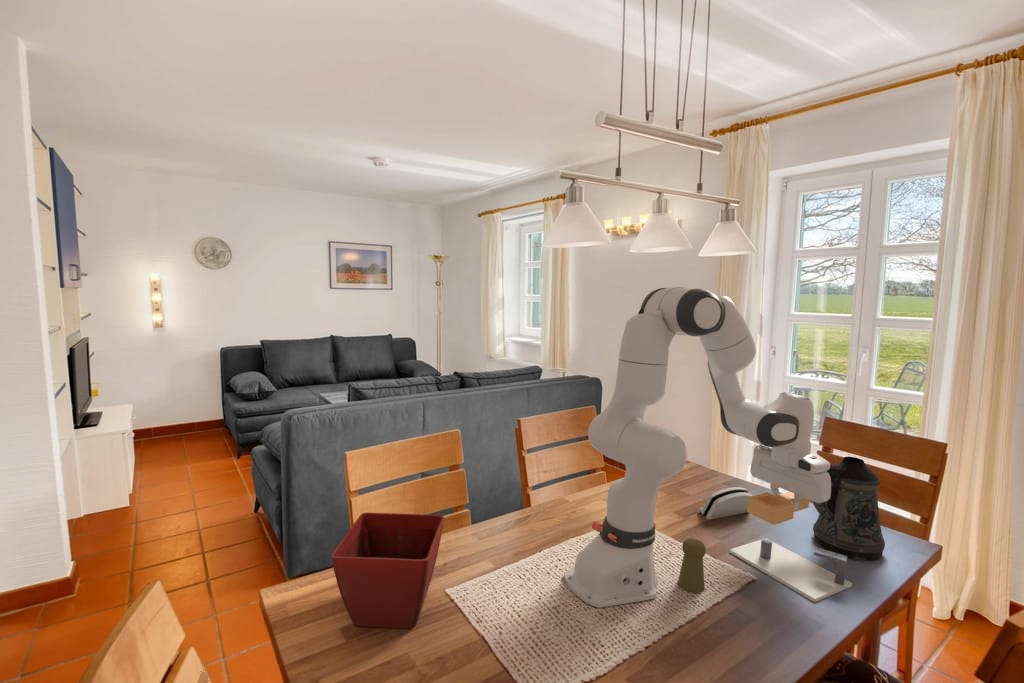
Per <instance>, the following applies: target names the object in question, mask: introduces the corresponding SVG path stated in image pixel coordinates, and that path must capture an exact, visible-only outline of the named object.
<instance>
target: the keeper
mask: <svg viewBox="0 0 1024 683" xmlns="http://www.w3.org/2000/svg"><path fill="white" fill-rule="evenodd" d="M813 556H816V557H819V558H823V559H826V560H829V561H833V562H835V563H836V566H835V573H834V574H835V583H837V584H840V585H843V586H844V581H845V580H846V570H847V562H848V558H847V556H845V555H841V554H838V553H835V552H831V551H828V550H826V549H824V548H822V547H817V546H815V547H814V550H813Z"/></svg>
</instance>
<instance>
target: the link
mask: <svg viewBox="0 0 1024 683" xmlns="http://www.w3.org/2000/svg"><path fill="white" fill-rule="evenodd" d="M795 499H796V498H795V497H794V493H792V492H790V491H787V492H784V493H780V495H776V496H775V495H773V493H770V492H764V493H760V494H757V495H752V497H748V506H747V512H746V513H749V514H751V515H753V516H754V517H757V518H758V519H761V520H762V521H764V522H767V523H769V524H770V525H773V526H775V525H778V524H782V523H784V522H787V521H790V520H793V519H794V513H795V512H799V511H803V510H805V509H808V508H809V507H810V500H809V499H807V498H803V499H802V501H801V502H800V503H799V507H798V509H797V510H794V504H793V503H791V502H790V501H793V500H795Z"/></svg>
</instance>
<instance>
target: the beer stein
mask: <svg viewBox="0 0 1024 683" xmlns="http://www.w3.org/2000/svg"><path fill="white" fill-rule="evenodd" d="M827 472H828V473H829V475H830V478H831V496H830V499H829V500H828V501H826V502H823V503H817V502H814V501H812V504H813V506H814V508H815V509H816V511H817V513H818V517H817V519H816V521H815V523H813V527H812V529H813V530H812V531H813V536H814V542H816V543H817V545H819V546H820V548H821V549H825V550H828V551H831V552H835V553H838V554H841V555H845V556H847V559H849V560H853V561H856V562H857V561H860V562H873V561H874V562H875V561H878V560H880V559H881V558H882V557H883V553H884V550H885V547H886V541H885V539H884V536H883V533H882V532H883V531H882V528H881V521H880V514H879V513H880V512H879V500H878V489H879V488H880V487H881V486H880V485H881V483H882V481H881V478H880V477H879V476H878V475H877V474H876V473H875V472H874V471H873V470H871V468H870V467H868V466H867V465H866V462H865V461H864V460H863V459H861V458H858V457H856V456H845V457H843V458H842V460H840V461H839V462H837V463H835V464H833V465H830V469H829V470H827Z"/></svg>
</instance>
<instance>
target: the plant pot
mask: <svg viewBox="0 0 1024 683" xmlns="http://www.w3.org/2000/svg"><path fill="white" fill-rule="evenodd" d="M444 518H445V517H444V516H443V515H439V514H424V513H423V514H419V513H418V514H417V513H415V514H414V513H395V512H394V513H393V512H391V513H390V512H389V513H388V512H386V513H385V512H363V513H361V514H360V515H359V516H358V518H357V519H356V521H355V522H354V523H353V525H352V526H351V528H349V530H348V531H347V533H346V534H345V536H344V537H343V539H342V540H341V541H340V542H339V544H338V545H337V546H336V548H335V549H334V550H333V551H332V553H331V562H332V566H333V570H334V571H333V572H334V575H335V579H336V583H337V587H338V590H339V594H340V595H341V599H342V602H343V604H344V607H345V609H346V611H347V613H348V615H349V618H350V620H351V621H352V624H353V625H354V626H356V627H369V628H371V627H373V628H391V629H394V628H395V629H413V628H415V627H416V626H417V624H418V621H419V618H420V615H421V612H422V608H423V605H424V602H425V599H426V596H427V593H428V591H429V588H430V584H431V581H432V578H433V574H434V570H435V566H436V562H437V558H438V554H439V549H440V544H441V539H442V533H443V526H444Z"/></svg>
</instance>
